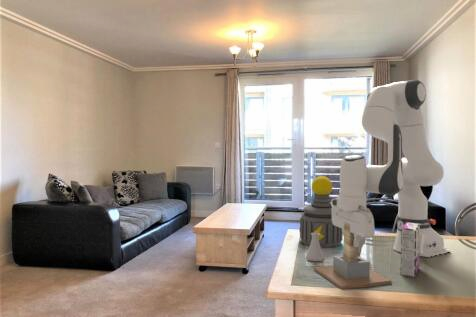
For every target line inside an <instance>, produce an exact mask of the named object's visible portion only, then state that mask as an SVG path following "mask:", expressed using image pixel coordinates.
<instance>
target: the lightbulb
mask: <svg viewBox="0 0 476 317" xmlns="http://www.w3.org/2000/svg"><path fill="white" fill-rule="evenodd" d="M366 239H367V238H363V237H362V238H361V240H360V242H359V249H358V256H359V257H361V255H362V254H361V253H362V249H363V247H364V245H365V243H366Z"/></svg>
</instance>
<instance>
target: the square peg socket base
mask: <svg viewBox="0 0 476 317" xmlns="http://www.w3.org/2000/svg"><path fill="white" fill-rule="evenodd" d="M332 258H333V262H332V265H323V266H321V265H320V266H314V269H313V270H314V271H315V272H316V273H318V274H320V276H322V277H324V278H326V279H327V280H328V281H329V282H331V283H332V284H333V285H335V286H336V287H337V288H339V289H341V290H348V289H357V288H366V287H373V286H383V285H385V286H386V285H392V280H391V279H389V278H387V277H385V276H383V275H382V274H380V273H378V272H376V271H374V270H373V269H371V266H370V265H371V261H369V260H367V259H366V258H363V257H361V256H360V257H359V256H358V261H356V262H348V261H346V260H344V259H343V254H342V255H333V256H332Z"/></svg>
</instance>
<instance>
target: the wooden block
mask: <svg viewBox="0 0 476 317" xmlns="http://www.w3.org/2000/svg"><path fill="white" fill-rule="evenodd" d="M354 238H355V237H354V233H351V232H350V224H349V223H346V222H344V236H343V252H342V255H343V259H344V260H346V261H348V262H356V261H358V249H359V247H354V246H352V241H354Z"/></svg>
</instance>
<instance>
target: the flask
mask: <svg viewBox="0 0 476 317" xmlns="http://www.w3.org/2000/svg"><path fill="white" fill-rule="evenodd" d="M311 235H312V240H311V244H310V246H308V247H309V248H308V250H307V253H306V254H305V259H306V260H307V261H311V262H323V261H324V260H325V257H324V254H323V250H322V248H321V247H320V244H319V235H320V234H319V233H311Z"/></svg>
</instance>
